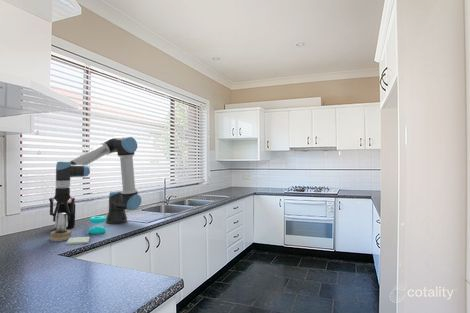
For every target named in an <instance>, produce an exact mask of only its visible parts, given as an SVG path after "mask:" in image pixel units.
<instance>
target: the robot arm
mask: <svg viewBox="0 0 470 313" xmlns="http://www.w3.org/2000/svg"><path fill="white" fill-rule="evenodd" d="M137 150H138V143H137V140H136V139H135V138H134V137H133V136H128V135H124V136H123V135H121V136H119V135H117V136H112V137H111V138H108V139H106V140H105V141H102V142H101V143H99V145H98V146H96V147H94V148H92V149H91V150H89V151H87V152H85V153H83V154H82V155H79V156H77V157H76V158H74V159H72V160H70V161H57V162H56V167H55V187H56V188H55V189H54V191H55V192H54V197H50V198H49V199H48V200H49V215H50V216H52V221H53V222H54V228H57V211H58V208H59V205H60V203H64V204H65V207H66V212H67V215H66V227H67V226H68V221H70V215H72V214H73V213H74V200H75V201H76V197H73V196H71V194H70V193H71V188H70V187H71V178H84V177H88V176H89V175H90V172H91V171H90V170H91V168H90V166H89V165H90V164H92V163H94V162H95V161H98V159H101V158H103V156H105V155H106V156H107V155H110V154H113V153H117V157H119V159H120V160H119V162H120V173H121V182H122V183H121V185H122V190H119V191H111V192H109V193H108V195H109V196H108V212H107V215H106V216H105V217H106V221H105V223H107V224H123V223H127V222H128V217H127V213H126V210H128V211H136V210H138V209H139V207H140V206H141V205H142V196H141V195H139V193H138V190H137V189H136V182H135V173H134V172H135V171H134V168H135V167H134V159H133V157H134V156H135V152H136V151H137ZM68 200H71V213H70V211H69V207H68V202H67V201H68ZM54 201H56V206H55V208H54Z"/></svg>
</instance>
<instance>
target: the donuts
mask: <svg viewBox="0 0 470 313" xmlns="http://www.w3.org/2000/svg"><path fill="white" fill-rule="evenodd" d="M106 217H107V216H104V215H97V216H91V217H90V218H89V223H90V224H94V225H95V224H97V226H93V227H90V228H89V229H88V233H90V234H92V235H99V234H103V233H105V232H106V230H107V229H106V227H105V226H103V225H102V226H101V225H98V224H103V223H106Z"/></svg>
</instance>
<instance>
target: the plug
mask: <svg viewBox="0 0 470 313" xmlns="http://www.w3.org/2000/svg"><path fill="white" fill-rule="evenodd" d="M66 214H67V213H57V215H56V216H57V227H56V231H57V233H65V232H66V230H67V229H66Z"/></svg>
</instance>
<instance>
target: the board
mask: <svg viewBox="0 0 470 313" xmlns="http://www.w3.org/2000/svg"><path fill="white" fill-rule="evenodd" d="M90 239H91V236H79V237H78V236H77V237H71V238H69V239H68V240H66V243H65V244H66V246H68V245H69V246H70V245H81V244H82V245H83V244H84V245H85V244H89V242H90Z"/></svg>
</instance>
